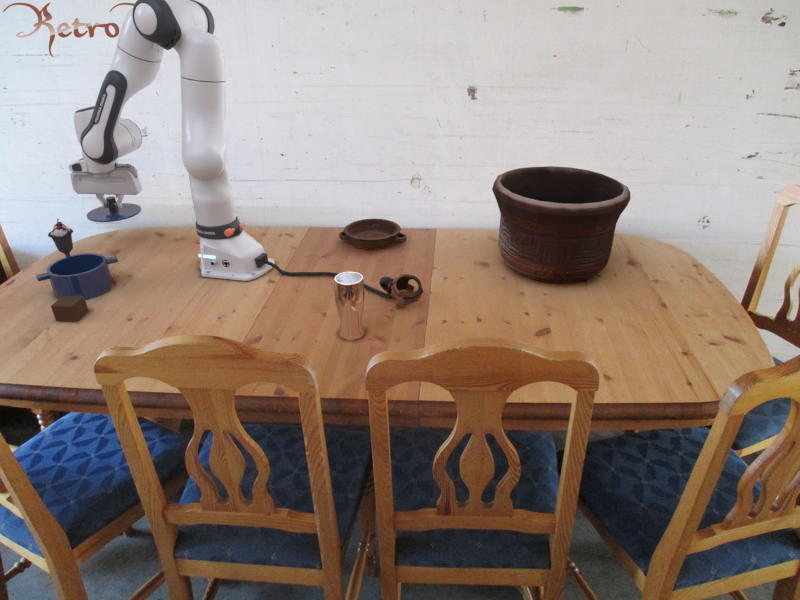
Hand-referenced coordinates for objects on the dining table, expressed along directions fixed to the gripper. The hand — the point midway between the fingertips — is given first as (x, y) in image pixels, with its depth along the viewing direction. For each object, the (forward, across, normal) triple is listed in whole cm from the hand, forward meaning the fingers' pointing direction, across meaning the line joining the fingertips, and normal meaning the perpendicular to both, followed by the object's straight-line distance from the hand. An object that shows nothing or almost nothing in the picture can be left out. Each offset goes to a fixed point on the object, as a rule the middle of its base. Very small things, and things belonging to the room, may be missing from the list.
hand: (113, 207), depth 178 cm
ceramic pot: (+13, -134, +6) cm, 135 cm away
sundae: (+14, +11, +12) cm, 21 cm away
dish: (+13, -80, -8) cm, 81 cm away
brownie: (+14, -8, +42) cm, 45 cm away
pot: (+14, -3, +28) cm, 31 cm away
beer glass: (+14, -81, +46) cm, 94 cm away
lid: (+2, 0, 0) cm, 2 cm away
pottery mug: (+13, -92, +29) cm, 97 cm away
